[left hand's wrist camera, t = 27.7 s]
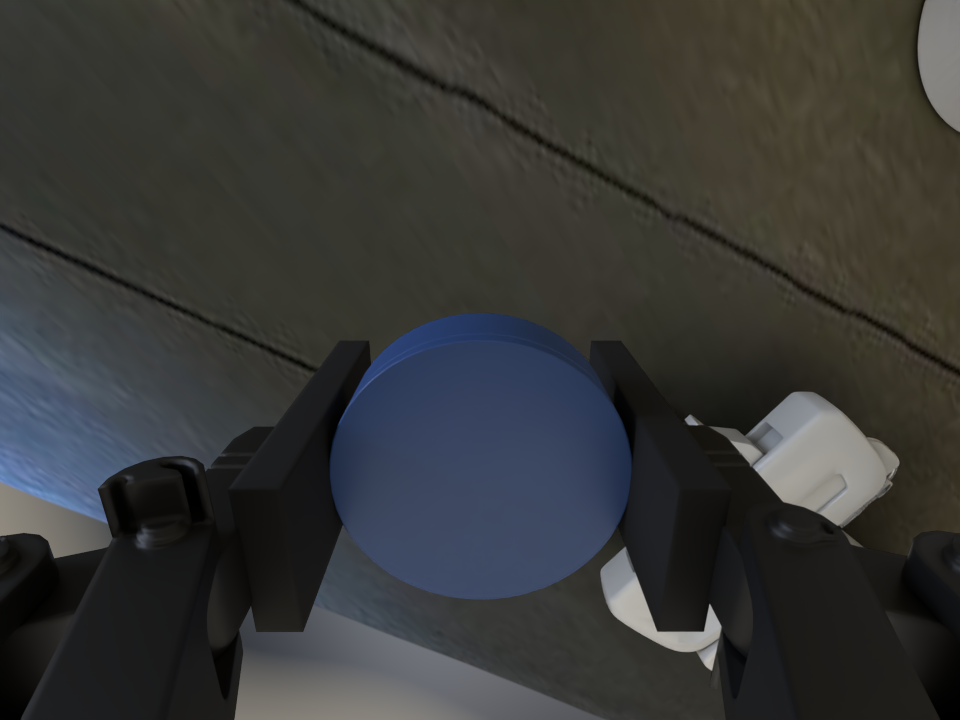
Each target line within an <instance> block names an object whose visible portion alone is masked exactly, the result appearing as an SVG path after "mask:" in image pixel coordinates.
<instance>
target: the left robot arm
mask: <svg viewBox="0 0 960 720" xmlns="http://www.w3.org/2000/svg"><path fill="white" fill-rule="evenodd" d="M590 365H591V366H592V368H593V369H594V370H595V372H596V373H597V375H598V377H599V379H600V381H601V382H602V384H603V386H604V388H605V390H606V392H607V393H608V395H609V397H610V399H611V401H612V403H613V405H614V407H615V409H616V410H617V412H618V414H619V416H620V418H621V420H622V422H623V425H624V427H625V430H626V433H627V435H628V438H629V443H630V448H631V453H632V472H631V481H630V489H629V497H628V502H627V506H626V509H625V511H624V513H623V516H622V518H621V520H620V522H619V524H618V527H619V530H620V533H621V535H622V538H623V541H624V543H625V546H626V549H627V552H628V554H629V557H630V560H631V562H632V565H633V568H634V570H635V573H636V576H637V579H638V581H639V584H640V587H641V589H642V592H643V595H644V597H645V600H646V603H647V606H648V608H649V611H650V614H651V616H652V619H653V622H654V624H655V627H656V630H657V632H704V629H705V624H706V619H707V614H708V609H709V604H710V605H711V607H712V609H713V611H714V613H715V615H716V617H717V619H718V621H719V623H720V625H721V631H720V636H719V641H718V645H717V650H716V654H715V659H714V664H713V668H712V673H711V679H710V686H709V687H710V688H714V689H717V687H718V682H719V678H720V679H721V686H722V694H723V701H724V709H725V717H726V720H960V533H951V532H944V531H930V532H922V533H921V534H919V535H918V536H916V537H915V538H914V539H913V541H912V544H911V547H910V550H909V553H908V555H907V556H903V555H898V554H893V553H888V552H884V551H879V550H874V549H869V548H864V547H859V546H855V545H851V544H850V542H849V540H848V538H847V537H846V535H845V534H844V533H843V532H842V530H841V529H840V528H839V527H838V526H837V525H836V524H834V523H833V522H831V521H830V520H829V519H827V518H826V517H824V516H823V515H821V514H818V513H816V512H814V511H812V510H809V509H807V508H805V507H802V506H798V505H794V504H790V503H786V502H783V501H782V500H781V499H780V498H779V496H778V495H777V494H776V493H775V492H774V491H773V490H772V488H771V487H770V486H769V485H768V484H767V483H766V482H765V480H764V479H763V478H762V477H761V476H760V475H759V473H758V472H757V471H756V470H755V469H754V468H753V467H750V463H749V462H748V461H747V460H746V459H745V457H744V456H743V455H740V453H739V451H738V449H737V448H736V447H735V446H734V445H733V444H732V443H731V441H730V440H729V439H728V438H727V437H726V436H724V435H722V434H721V433H719V432H717V431H715V430H714V429H712V428H710V427H709V426H707V425H684V424H683V423H682V422H681V420H680V419H679V418H678V416H677V415H676V414H675V412H674V411H673V410H672V408H671V407H670V406H669V404H668V403H667V402H666V400H665V399H664V398H663V396H662V395H661V394H660V392H659V391H658V390H657V388H656V387H655V386H654V384H653V383H652V382H651V380H650V379H649V378H648V377H647V375H646V374H645V373H644V371H643V370H642V369H641V367H640V366H639V365H638V363H637V362H636V361H635V359H634V358H633V357H632V355H631V354H630V353H629V351H628V350H627V349H626V347H625V346H624V345H623V343H622V342H621V341H591V351H590ZM370 366H371V359H370V347H369V341H339V342H338V344H337V345H336V346H335V348H334V349H333V350H332V352H331V353H330V354H329V356H328V357H327V358H326V360H325V361H324V362H323V364H322V365H321V366H320V368H319V369H318V370H317V372H316V373H315V374H314V376H313V377H312V378H311V380H310V381H309V382H308V384H307V385H306V386H305V388H304V389H303V390H302V392H301V393H300V394H299V396H298V397H297V398H296V400H295V401H294V402H293V404H292V405H291V406H290V408H289V409H288V410H287V412H286V413H285V414H284V416H283V417H282V418H281V420H280V421H279V422H278V423H277V425H276V426H275V427H253V428H251V429H250V430H248V431H246V432H245V433H243V434H241V435H240V436H238V437H236V438H235V439H233V441H232V442H231V443H230V444H229V445H228V446H227V448H226V449H225V450H224V451H223V452H222V453H221V456H219V457H218V458H217V459H216V460H215V461H214V463H213V464H212V465H211V469H207V471H206V472H205V469H204V465H203V464H202V463H201V462H199V461H198V460H196V459H194V458H189V457H184V456H174V457H161V458H157V459H152V460H148V461H143V462H141V463H138V464H135V465H133V466H130V467H128V468H125V469H123V470H121V471H120V472H118V473H116V474H115V475H113V476H111V477H110V478H108V479H107V480H106V481H105V482H104V483H103V484H102V485H101V486H100V487H99V488H98V491H99V495H100V498H101V501H102V505H103V508H104V511H105V514H106V518H107V521H108V524H109V528H110V531H111V534H112V537H113V539H112V541H111V543H110V545H109V547H107V548H103V549H99V550H94V551H89V552H84V553H79V554H74V555H70V556H64V557H59V558H54V557H53V554H52V551H51V548H50V546H49V543H48V541H47V540H46V539H44V538H43V537H42V536H40V535H36V534H27V533H21V534H14V535H7V536H0V720H234V718H235V710H236V703H237V695H238V687H239V680H240V672H241V664H242V657H243V648H242V641H241V636H240V632H239V628H240V626H241V624H242V622H243V620H244V618H245V616H246V615H247V612H248V611H249V609H250V607H251V608H252V613H253V618H254V622H255V627H256V632H303V631H304V628H305V625H306V623H307V620H308V617H309V615H310V612H311V609H312V606H313V604H314V601H315V598H316V596H317V593H318V590H319V588H320V585H321V582H322V579H323V577H324V574H325V571H326V569H327V566H328V563H329V561H330V558H331V555H332V552H333V550H334V547H335V544H336V542H337V539H338V536H339V534H340V531H341V528H342V525H343V523H342V521H341V519H340V516H339V514H338V512H337V510H336V507H335V503H334V500H333V496H332V492H331V484H330V476H329V457H330V452H331V446H332V441H333V438H334V435H335V432H336V429H337V426H338V424H339V422H340V420H341V418H342V416H343V414H344V412H345V410H346V408H347V406H348V404H349V403H350V401H351V399H352V397H353V395H354V393H355V391H356V389H357V387H358V385H359V384H360V382H361V380H362V378H363V376H364V374H365V373H366V371H367V370H368V368H369V367H370Z"/></svg>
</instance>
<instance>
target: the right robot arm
mask: <svg viewBox="0 0 960 720" xmlns="http://www.w3.org/2000/svg"><path fill="white" fill-rule="evenodd" d="M918 64H919V70H920V76H921V80H922V83H923V86H924V89H925V92H926V94H927V97H928V99H929V100H930V102H931V104H932V106H933V107H934V109H935V110H936V112H937V113H938V114H939V115H940V117H941V118H942V119H943V120H944V121H945V122H946V123H947V124H949V125H950V126H951V127H952V128H954V129H955V130H957V131H958V132H960V0H925V3H924V7H923V11H922V15H921V20H920V26H919V33H918ZM682 423H683V424H684V425H703V424H702V423H701V422H700V421H699V420H697V419H696V418H695V417H694V416H692V415H689V416H688V417H687V418H686V419H685V420H684V421H683V422H682ZM709 427H710V428H712V429H714V430H715V431H717V432H719V433H721V434H722V435H724V436H726V437H727V438H728V439H729V440H730V441H731V443H732V444H733V445H734V446H735V447H736V448H737V449H738V451H739V453H740V455H743V456H744V457H745V459H746V460H747V461H748V462H749V463H750V467H753V468H754V469H755V470H756V471H757V472H758V473H759V475H760V476H761V477H762V478H763V479H764V480H765V482H766V483H767V484H768V485H769V486H770V487H771V488H772V490H773V491H774V492H775V493H776V494H777V495H778V496H779V498H780V499H781V500H782V501H783V502H786V503H790V504H794V505H798V506H802V507H805V508H807V509H809V510H812V511H814V512H816V513H818V514H821V515H823V516H824V517H826V518H827V519H829V520H830V521H831V522H833V523H834V524H836V525H837V526H838V527H839V528H840V529H841V530H842V528H843V527H844V526H846V525H847V524H848V523H850V522H851V521H852V520H853V519H854V518H856V517H857V516H858V515H859V514H860V513H861V512H862V510H864V509H865V507H867V506H868V504H870V503H871V502H873V501H874V500H875V499H876V498H877V497H878V498H880V497H881V496H883V495H884V494H885V493H887V492H888V491H889V489H890V488H891V487H892V486H893V483H892V482H891V481H890V480H891V479H892V478H893V477H894V475H895V473H896V472H897V469H898V466H899V459H898V457H897V456H896V454H895V453H894V452H893V451H892V450H891V449H890V448H889V447H888V446H887V445H885V444H884V443H883V442H882V441H881V440H879V439H877V438H874V437H870V436H865V435H864V434H863V433H862V432H861V431H860V429H859V428H858V427H857V426H856V425H855V424H854V423H853V422H852V421H851V420H850V419H849V418H848V417H847V416H846V415H845V414H844V413H843V412H842V411H840V410H839V409H838V408H836V407H835V406H834V405H833V404H831V403H830V402H828V401H827V400H826V399H824V398H823V397H821V396H819V395H818V394H816V393H814V392H793V393H791V394H790V395H789V396H788V397H786V398H785V399H784V400H783V401H782V402H781V403H780V404H779V405H778V406H777V407H776V408H775V409H774V410H772V411H771V412H770V413H769V414H768V415H767V416H766V417H765V418H764V419H763V420H762V421H761V422H759V423H758V424H757V425H756V426H755V427H754V428H753V429H752V430H751V431H750V432H749V433H748V434H747V435H745V436H744V435H743V434H741V433H740V432H739V431H738V430H736V429H730V428H721V427H712V426H709ZM842 532H843V533H844V534H845V535H846V537H847V538H848V540H849V542H850V544H851V545H855V546H859V547H863V546H862V545H860V544H859V543H858V542H857V541H855V540H854V539H853V538H852V537H850V536H849V535H848V534H847V533H845V532H844V531H843V530H842ZM601 582H602V588H603V592H604V596H605V599H606V602H607V605H608V607H609V609H610V611H611V612H612V614H613V615H614V616H615V617H616V618H618V619H619V620H620V621H622V622H623V623H624V624H626V625H627V626H629V627H631V628H632V629H634V630H635V631H637V632H639V633H640V634H642V635H644V636H646V637H647V638H649V639H651V640H653V641H655V642H657V643H659V644H661V645H663V646H665V647H667V648H669V649H672V650H676V651H680V652H693V651H696V652H697V653H698V655H699V657H700V658H701V660H702V662H703V663H704V665H705V666H706V667H707V668H708V669H710V670H711V671H712V668H713V664H714V659H715V654H716V650H717V645H718V641H719V636H720V631H721V625H720V623H719V621H718V619H717V617H716V615H715V613H714V611H713V609H712V607H711V605H710V604H709V609H708V614H707V619H706V624H705V629H704V632H657V630H656V627H655V624H654V622H653V619H652V616H651V614H650V611H649V608H648V606H647V603H646V600H645V597H644V595H643V592H642V589H641V587H640V584H639V581H638V579H637V576H636V573H635V570H634V568H633V565H632V562H631V560H630V557H629V554H628V552H627V549H626V546H625V547H624V548H623V549H622V550H621V551H620V552H619V553H618V554H617V555H616V556H614V557H613V558H612V559H611V560H610V561H609V562H608V563H607V564H606V565H605V566H604V567H603V568H602V569H601Z"/></svg>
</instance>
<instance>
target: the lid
mask: <svg viewBox="0 0 960 720" xmlns="http://www.w3.org/2000/svg"><path fill="white" fill-rule="evenodd" d="M631 472H632V453H631V448H630V443H629V438H628V435H627V433H626V430H625V427H624V425H623V422H622V420H621V418H620V416H619V414H618V412H617V410H616V409H615V407H614V405H613V403H612V401H611V399H610V397H609V395H608V393H607V392H606V390H605V388H604V386H603V384H602V382H601V381H600V379H599V377H598V375H597V373H596V372H595V370H594V369H593V368H592V366H591V365H590V364H589V362H588V361H587V360H586V358H585V357H584V356H583V355H582V354H581V353H580V352H579V351H578V350H577V349H576V348H575V347H574V346H572V345H571V344H570V343H568V342H567V341H566V340H564V339H563V338H562V337H560V336H559V335H557V334H555V333H554V332H552V331H550V330H548V329H546V328H544V327H543V326H540V325H537V324H535V323H532V322H530V321H527V320H524V319H520V318H516V317H512V316H508V315H500V314H491V313H469V314H462V315H454V316H449V317H445V318H442V319H438V320H434V321H431V322H429V323H427V324H424V325H422V326H419V327H417V328H415V329H413V330H412V331H410V332H408V333H406V334H405V335H403V336H401V337H400V338H398V339H397V340H396V341H395V342H393V343H392V344H391V345H389V346H388V347H387V348H386V349H385V350H384V351H383V352H382V353H381V354H380V355H379V356H378V357H377V358H376V359H375V360H374V362H373V363H372V364H371V366H370V367H369V368H368V370H367V371H366V373H365V374H364V376H363V378H362V380H361V382H360V384H359V385H358V387H357V389H356V391H355V393H354V395H353V397H352V399H351V401H350V403H349V404H348V406H347V408H346V410H345V412H344V414H343V416H342V418H341V420H340V422H339V424H338V426H337V429H336V432H335V435H334V438H333V441H332V446H331V452H330V457H329V476H330V484H331V492H332V496H333V500H334V503H335V507H336V510H337V512H338V514H339V516H340V519H341V521H342V523H343V525H344V527H345V528H346V530H347V531H348V533H349V534H350V536H351V538H352V539H353V540H354V541H355V543H356V544H357V545H358V546H359V547H360V549H361V550H362V551H363V552H364V553H365V554H366V555H367V556H368V557H369V558H370V559H372V560H373V561H374V562H375V563H376V564H377V565H379V566H380V567H381V568H383V569H384V570H385V571H387V572H388V573H390V574H391V575H393V576H395V577H397V578H398V579H400V580H402V581H404V582H406V583H408V584H410V585H413V586H415V587H417V588H420V589H423V590H426V591H429V592H432V593H436V594H439V595H444V596H449V597H454V598H464V599H498V598H507V597H513V596H517V595H522V594H526V593H530V592H533V591H536V590H539V589H542V588H544V587H547V586H549V585H551V584H553V583H556V582H558V581H560V580H562V579H563V578H565V577H567V576H568V575H570V574H572V573H573V572H575V571H576V570H578V569H579V568H580V567H582V566H583V565H584V564H586V563H587V562H588V561H589V560H590V559H591V558H592V557H593V556H594V555H595V554H596V553H597V552H599V551H600V550H601V548H602V547H603V546H604V545H605V543H606V542H607V541H608V540H609V538H610V537H611V536H612V534H613V532H614V531H615V529H616V527H617V526H618V524H619V522H620V520H621V518H622V516H623V513H624V511H625V509H626V506H627V502H628V497H629V489H630V481H631Z"/></svg>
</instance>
